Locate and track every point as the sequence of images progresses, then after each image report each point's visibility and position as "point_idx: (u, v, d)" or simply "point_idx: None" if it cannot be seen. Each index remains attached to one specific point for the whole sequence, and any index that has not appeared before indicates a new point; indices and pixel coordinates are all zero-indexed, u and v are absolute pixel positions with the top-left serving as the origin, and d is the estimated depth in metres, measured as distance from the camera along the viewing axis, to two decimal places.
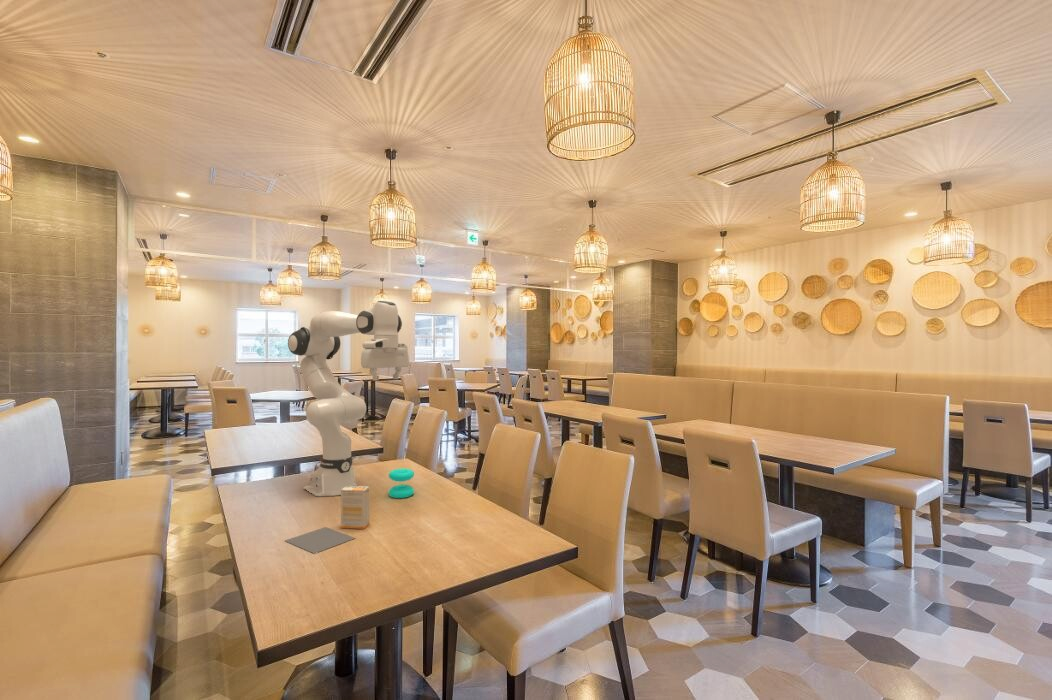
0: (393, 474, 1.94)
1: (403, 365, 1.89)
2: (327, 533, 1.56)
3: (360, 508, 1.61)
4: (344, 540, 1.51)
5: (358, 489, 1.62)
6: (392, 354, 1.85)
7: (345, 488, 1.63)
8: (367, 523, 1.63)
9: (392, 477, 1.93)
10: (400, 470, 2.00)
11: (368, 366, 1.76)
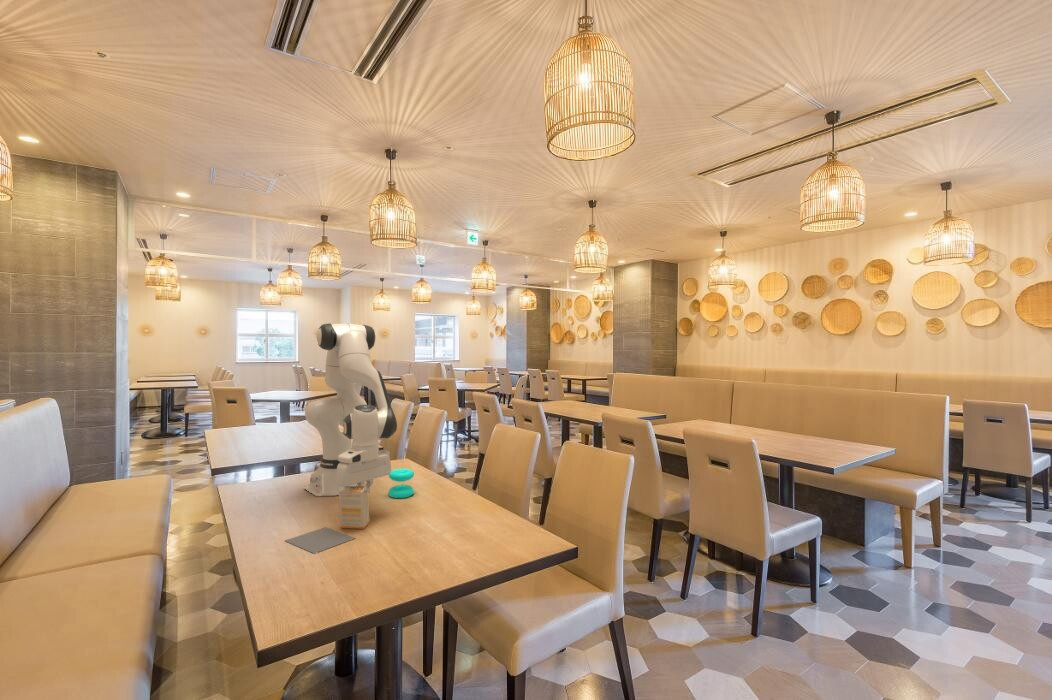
0: (393, 474, 1.94)
1: (384, 474, 1.71)
2: (327, 533, 1.56)
3: (359, 509, 1.60)
4: (344, 540, 1.51)
5: (356, 490, 1.60)
6: (372, 464, 1.67)
7: (343, 489, 1.61)
8: (367, 522, 1.63)
9: (392, 477, 1.93)
10: (400, 470, 2.00)
11: (344, 484, 1.57)
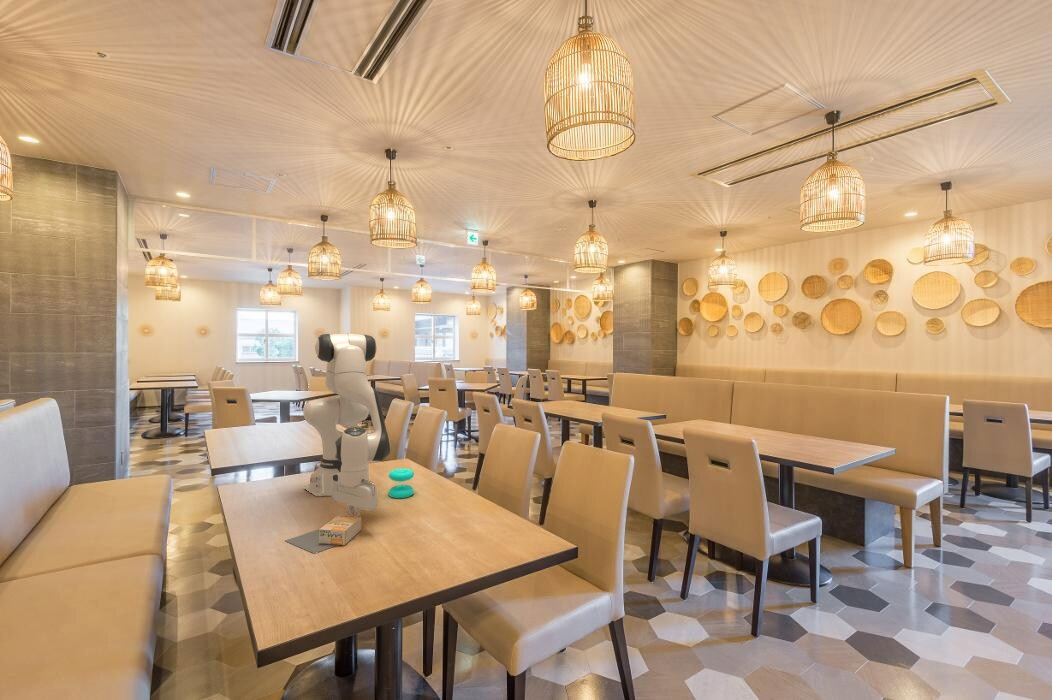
0: (393, 474, 1.94)
1: (363, 508, 1.56)
2: None
3: None
4: None
5: (337, 542, 1.47)
6: (354, 491, 1.59)
7: (321, 539, 1.48)
8: (360, 522, 1.59)
9: (392, 477, 1.93)
10: (400, 470, 2.00)
11: (333, 498, 1.65)
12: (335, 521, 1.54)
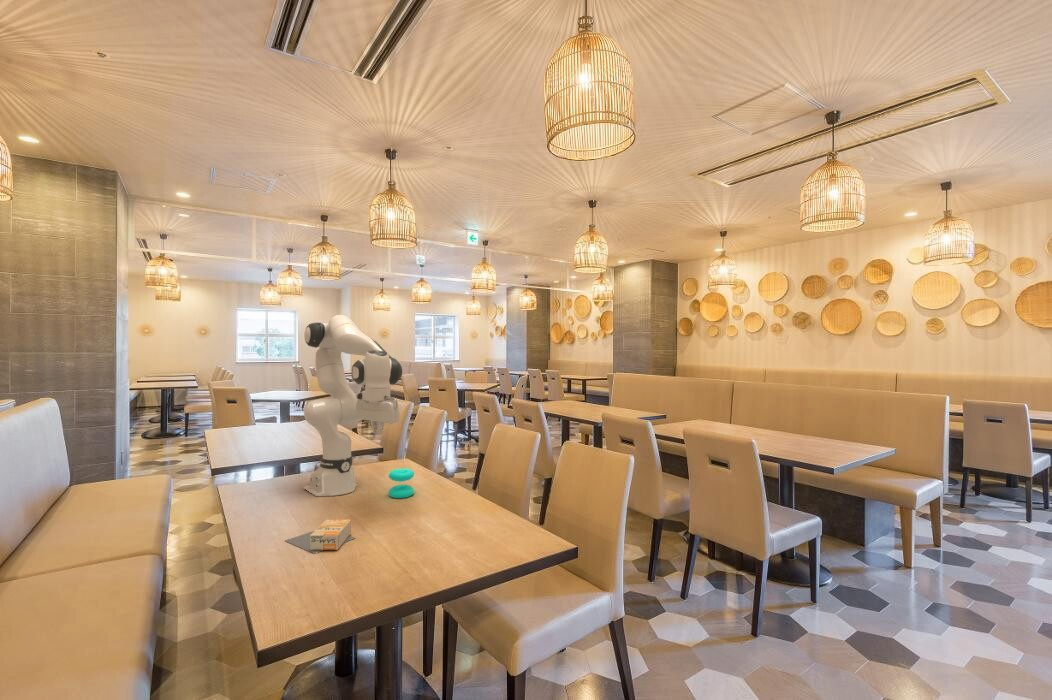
0: (393, 474, 1.94)
1: (386, 421, 1.70)
2: None
3: None
4: None
5: (329, 547, 1.44)
6: (377, 407, 1.73)
7: (313, 545, 1.43)
8: (350, 525, 1.56)
9: (392, 477, 1.93)
10: (400, 470, 2.00)
11: (357, 417, 1.79)
12: (325, 526, 1.49)
